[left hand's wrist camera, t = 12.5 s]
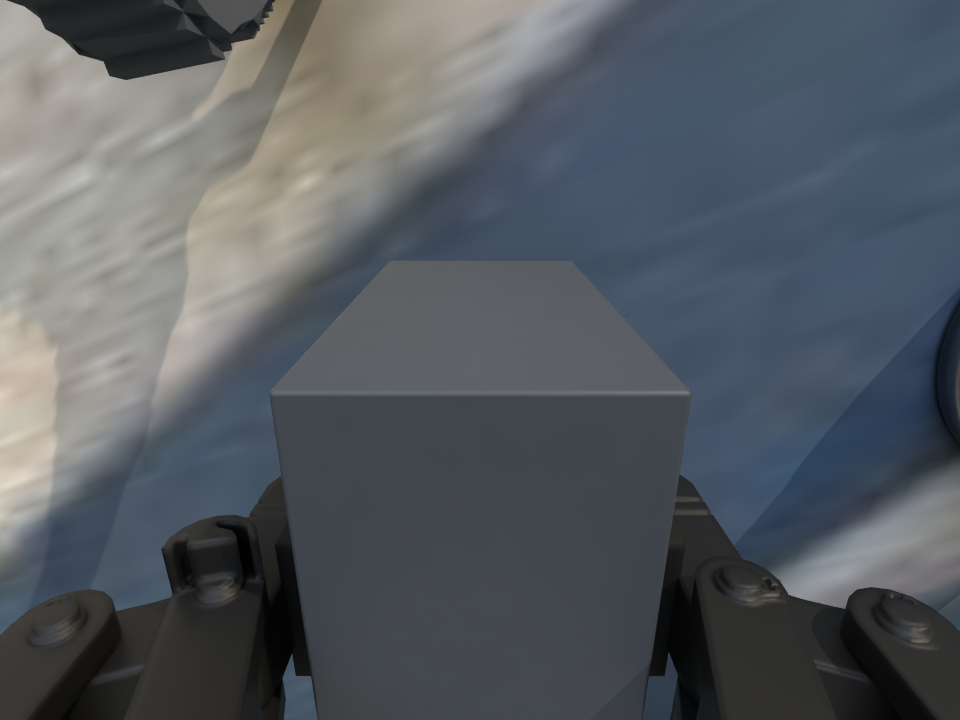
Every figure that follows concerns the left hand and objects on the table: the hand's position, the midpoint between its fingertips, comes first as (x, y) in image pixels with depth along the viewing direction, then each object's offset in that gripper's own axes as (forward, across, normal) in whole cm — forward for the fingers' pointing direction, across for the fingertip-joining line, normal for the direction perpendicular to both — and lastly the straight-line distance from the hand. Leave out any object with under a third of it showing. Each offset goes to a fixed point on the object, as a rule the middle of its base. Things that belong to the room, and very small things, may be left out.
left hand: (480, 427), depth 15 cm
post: (+1, 0, -27) cm, 27 cm away
